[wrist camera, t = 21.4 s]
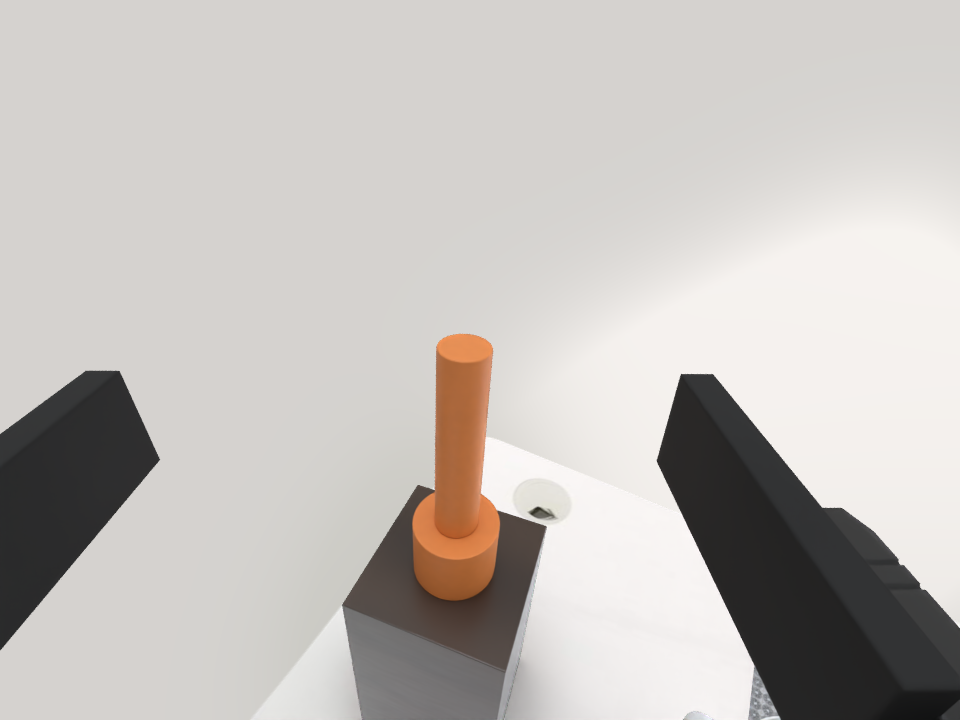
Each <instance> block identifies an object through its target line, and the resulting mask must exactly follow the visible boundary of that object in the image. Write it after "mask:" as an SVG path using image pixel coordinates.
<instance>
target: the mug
mask: <svg viewBox="0 0 960 720" xmlns="http://www.w3.org/2000/svg"><path fill="white" fill-rule="evenodd" d="M683 720H714V719H712V718H711V717H709V716H707V715H706V714H703V713H701V712H696V711H693V712H690V713H688V714H687V715H686V716H685V718H684V719H683ZM761 720H781V719H780V717H779V716H772V717H767V718H764V719H761Z"/></svg>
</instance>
